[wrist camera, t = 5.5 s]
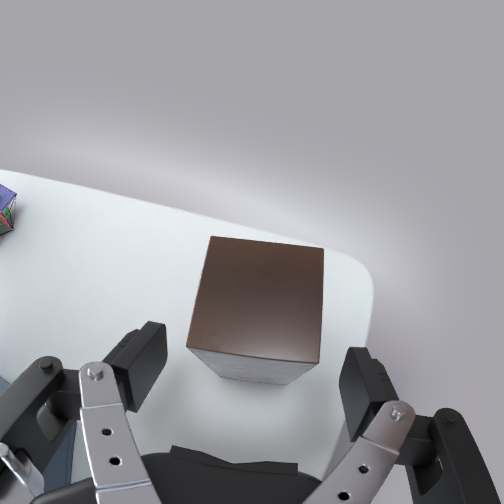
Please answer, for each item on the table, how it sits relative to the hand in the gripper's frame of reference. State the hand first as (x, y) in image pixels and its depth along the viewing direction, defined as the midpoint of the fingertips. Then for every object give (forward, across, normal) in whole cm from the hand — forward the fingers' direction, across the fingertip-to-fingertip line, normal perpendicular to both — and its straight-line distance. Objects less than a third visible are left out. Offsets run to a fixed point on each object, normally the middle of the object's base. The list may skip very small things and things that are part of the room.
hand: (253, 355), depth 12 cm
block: (+6, 0, +4) cm, 7 cm away
